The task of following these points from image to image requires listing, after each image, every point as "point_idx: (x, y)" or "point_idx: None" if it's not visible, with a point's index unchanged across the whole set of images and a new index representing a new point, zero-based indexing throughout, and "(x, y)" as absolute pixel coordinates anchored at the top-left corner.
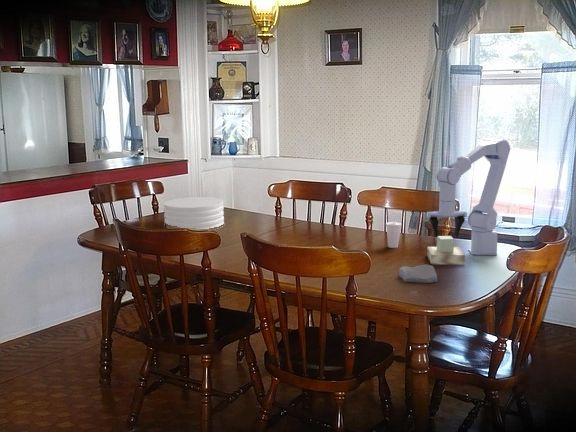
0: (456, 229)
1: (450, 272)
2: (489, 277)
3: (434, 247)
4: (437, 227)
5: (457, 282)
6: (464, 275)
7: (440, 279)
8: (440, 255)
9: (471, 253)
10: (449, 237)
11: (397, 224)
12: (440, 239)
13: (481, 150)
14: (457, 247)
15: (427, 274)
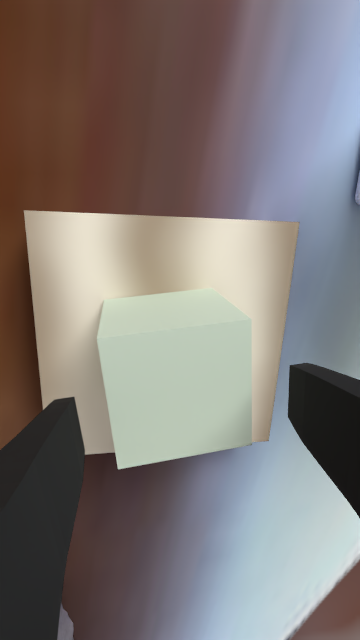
0: (338, 453)
1: (148, 534)
2: (292, 565)
3: (89, 243)
4: (59, 595)
5: (153, 637)
6: (201, 560)
7: (89, 621)
8: (114, 448)
9: (358, 188)
10: (222, 389)
11: None
12: (117, 460)
13: None
14: (278, 245)
15: None
